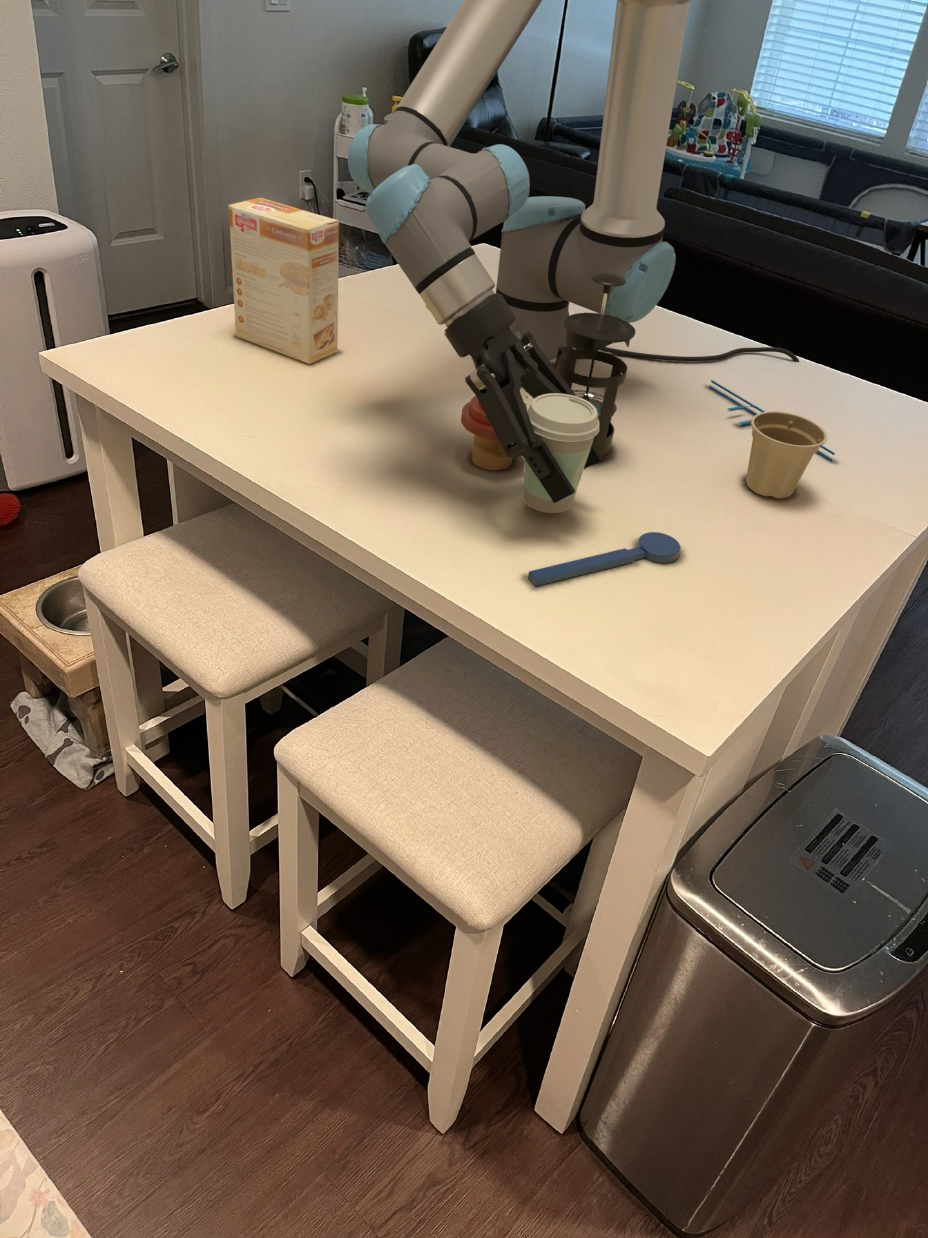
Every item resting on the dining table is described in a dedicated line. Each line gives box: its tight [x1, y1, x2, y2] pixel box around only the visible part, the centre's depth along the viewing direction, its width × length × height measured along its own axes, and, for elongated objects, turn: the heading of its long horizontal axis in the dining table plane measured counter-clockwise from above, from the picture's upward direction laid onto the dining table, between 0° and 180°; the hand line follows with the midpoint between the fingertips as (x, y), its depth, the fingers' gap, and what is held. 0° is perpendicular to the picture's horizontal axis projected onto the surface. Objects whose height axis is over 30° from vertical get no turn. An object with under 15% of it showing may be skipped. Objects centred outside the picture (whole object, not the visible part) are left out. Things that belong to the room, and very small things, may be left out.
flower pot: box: [745, 410, 828, 499], centre depth 119 cm, size 9×9×9 cm
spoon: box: [527, 531, 681, 587], centre depth 103 cm, size 20×5×1 cm, turn 118°
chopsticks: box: [708, 379, 836, 462], centre depth 136 cm, size 1×25×5 cm
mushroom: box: [460, 388, 528, 471], centre depth 117 cm, size 9×9×10 cm
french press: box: [555, 273, 636, 464], centre depth 118 cm, size 12×9×23 cm
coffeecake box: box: [228, 197, 340, 365], centre depth 136 cm, size 15×7×20 cm, turn 58°
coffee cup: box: [523, 393, 599, 514], centre depth 106 cm, size 8×8×12 cm
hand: (579, 479), depth 107 cm, fingers closed on coffee cup, 8 cm apart
